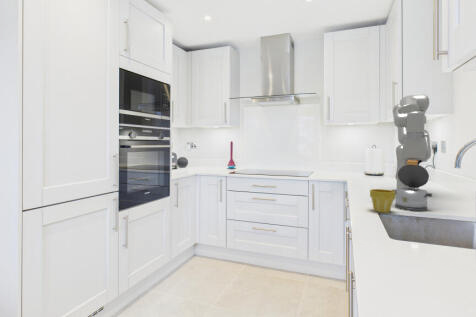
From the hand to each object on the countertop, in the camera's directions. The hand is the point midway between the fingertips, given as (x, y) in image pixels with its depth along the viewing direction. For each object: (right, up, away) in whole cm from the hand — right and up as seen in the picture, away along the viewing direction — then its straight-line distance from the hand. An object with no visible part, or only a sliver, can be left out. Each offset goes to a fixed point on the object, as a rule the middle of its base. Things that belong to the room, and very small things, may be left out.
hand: (413, 172), depth 135 cm
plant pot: (-21, -18, -9) cm, 29 cm away
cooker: (-3, -17, -3) cm, 18 cm away
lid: (-2, -1, -2) cm, 2 cm away
